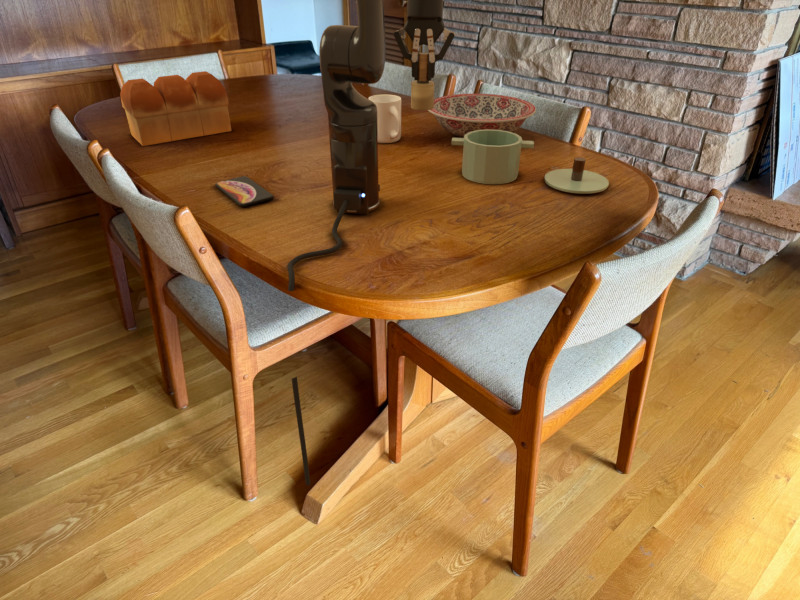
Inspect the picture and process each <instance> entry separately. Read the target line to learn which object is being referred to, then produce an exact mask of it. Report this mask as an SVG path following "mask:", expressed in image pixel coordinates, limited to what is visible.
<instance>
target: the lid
mask: <svg viewBox="0 0 800 600" xmlns="http://www.w3.org/2000/svg"><path fill="white" fill-rule="evenodd" d="M585 166H586V158H585V157H581V156H580V157H579V156H577V157H574V158H573V165H572V168H559V169H558V168H557V169H553V170H550V171H548V172H546V173H545V175H544V179H543V181H544V182H545V184H546V185H547V186H549V187H551V188H553V189H554V190H558V191H561V192H565V193H570V194H578V195H579V194H580V195H581V194H582V195H583V194H584V195H585V194H587V195H588V194H597V193H601V192H604V191H605V190H607V189H608V188H609V185H610V181H609V180H608V178H606V177H605V176H604V175H602V174H601V173H598V172H594V171H590V170H586V169H585Z"/></svg>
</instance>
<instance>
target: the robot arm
mask: <svg viewBox="0 0 800 600" xmlns="http://www.w3.org/2000/svg"><path fill="white" fill-rule="evenodd" d="M355 4H356V12H357V25H345V24H333V25H328V26H327V27H326V28H325V29H324V30H323V32H322V34H321V37H320V41H319V48H318V49H319V51H318V52H319V66H320V67H319V69H320V75H321V83H322V92H323V103H324V106H325V110H326V112H327V119H328V120H327V121H328V136H329V139H328V140H329V150H330V151H329V152H330V155H329V156H330V166H331V167H330V168H331V169H330V170H331V183H332V184H331V185H332V197H333V198H332V199H333V200H332V204H333V205H332V206H333V209H335V211H336V213H337V215H336V217H335V220H334V222H333V224H332V228H331V235H332V237H333V239H334V240H335V242H336V245H334V246H332V247H330V248H329V247H328V248H325V249H321V250H315V251H309V252H304V253H302V254H299V255H296V256H295V257H293V258H292V259H291V260H290V261H289V262H288V264H287V266H286V268H287V269H286V270H287V273H288V285H287V286H288V288H287V290H288V292H293V291H294V290H295V287H296V286H295V283H296V274H295V269H294V266H295V265H296V264H297V263H299V262H300V261H304V260H306V259H311V258H315V257H316V258H317V257H321V256H326V255H330V254H333V253H336V252H338V251H339V250H341V248H342V247H343V244H344V242H343V240H342V238H341V237H340V236H339V235H338V229H339V225H340V223H341V220H342V218H343V216H344V214H353V215H368V214H369V213H370V212H373V211H375V210H377V209H378V208H379V207H380V198H379V197H380V192H381V185H380V182H379V143H378V124H377V107H376V104H375V103H374V102H372V101H371V100H369V99H368V97H365V96H364V95H362V94H361V93H360V92H359V91H358V90H357V89H356V88H355V87H354V86H353V83H354V84H365V85H375V84H376V83H378V82H379V81H380V80H381V78H382V77H383V74H384V71H385V65H386V58H387V57H386V56H387V54H386V52H387V49H386V48H387V46H386V27H385V9H384V0H355ZM443 14H444V0H406V22H405V24H404V26H403V27H402V28H400V29H396V30H395V31H394V32H393V37H394V39H395V42H396V43H397V46H398V49H399V50H400V53H401V54H402V57H403V58H404V59H405V60H409V61H410V63H411V78H413V79H414V80H413V81H416V80H418V53H420V47H421V46H426V47H427V49H428V53H429V63H428V81H433V80H432V79H434V77H435V75H436V62H439V61H442V60H443V59H444V57H445V56H446V54H447V52H448V50H449V48H450V46H451V44H452V42H453V40H454V38H455V36H456V33H455V31H452V30H449V29H448V28H446V27H445V24H444V20H443V17H444V15H443ZM406 34H407V36H408V37H409V39H410V40H411V41H412V52H410V50H409V48H408V46H407V43H406V40H405V39H406ZM442 34H443V38H442V39H443V41H444V43H443V45H442V47H441V49H440V51H439V52H438V53H436V42H437V41H438V39H439V38H440V37H441V35H442ZM291 385H292V393H293V400H294V408H295V416H296V422H297V430H298V435H299V436H298V437H299V443H300V450H301V457H302V458H301V459H302V466H303V473H304V481H305V483H304V484H305V485H306V486H310V485H311V475H310V466H309V459H308V452H307V445H306V437H305V428H304V422H303V421H304V420H303V415H302V407H301V400H300V392H299V391H300V390H299V382H298V376H295V377H292V378H291Z"/></svg>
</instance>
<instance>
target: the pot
mask: <svg viewBox="0 0 800 600" xmlns="http://www.w3.org/2000/svg"><path fill="white" fill-rule="evenodd" d="M451 146H462V161H461V162H462V163H461V175H462V176H463V178H465V179H466V180H468V181H471V182H473V183H479V184H483V185H503V184H508V183H511V182H514V181H515V180H517V179H518V176H519V170H520V163H521V154H522V149H534V148H535V142H534V140H523V138H522V136H520V135H519V134H517V133H515V132H509V131H502V130H490V129H486V130H476V131H472V132H468V133H467V134H465V135H464V137H452V138H451Z"/></svg>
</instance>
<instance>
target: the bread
mask: <svg viewBox="0 0 800 600" xmlns="http://www.w3.org/2000/svg"><path fill="white" fill-rule="evenodd" d="M119 93H120V94H119V95H120V101H121V107H122V108H123V109H124V111H125V115H126V119H127V123H128V127H129V131H130V135H131V136H132V137H133V138H134V139H135V140H136V141H137V142H138V143H139V144H140V145H141V146H142V147H145V146H151V145H157V144H163V143H169V142H175V141H181V140H187V139H193V138H198V137H204V136H209V135H211V136H212V135H216V134H221V133H227V132H232V126H231V118H230V112H229V104H230V101H229V97H228V93H227V90H226V88H225V86H224V85H223V84H222V82H221V81H220V79H218V78H217V77H216V76H215V75H213V74H212V73H210V72H208V71H196V72H195V71H194V72H191V73H190V74H189V75H188V76H187V77H186V78H184V77H183V76H181V75H179V74H172V75H163V76H158V77H157V78H156V79H155V80H154V82H153V84H151V83H150V81H148V80H146V79H144V78H143V77H142V78H135V79H128V80H127V81H125V82H124V84H123V85H122V86H121V89H120V92H119Z"/></svg>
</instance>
